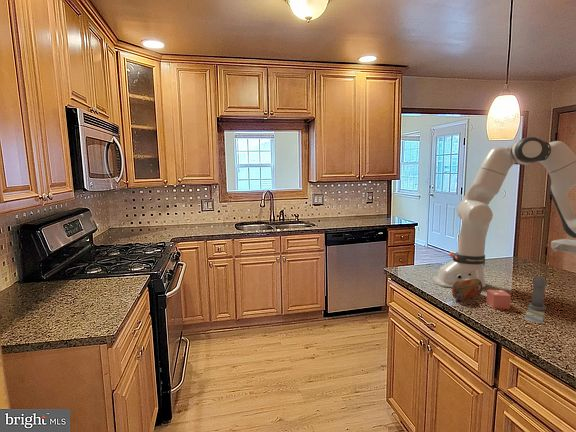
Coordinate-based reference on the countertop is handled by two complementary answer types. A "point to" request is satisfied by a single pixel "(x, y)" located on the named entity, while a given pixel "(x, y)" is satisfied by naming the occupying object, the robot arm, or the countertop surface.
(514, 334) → the countertop surface
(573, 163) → the robot arm
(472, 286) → the tin
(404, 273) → the countertop surface
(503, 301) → the die
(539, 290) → the pawn
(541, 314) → the board
